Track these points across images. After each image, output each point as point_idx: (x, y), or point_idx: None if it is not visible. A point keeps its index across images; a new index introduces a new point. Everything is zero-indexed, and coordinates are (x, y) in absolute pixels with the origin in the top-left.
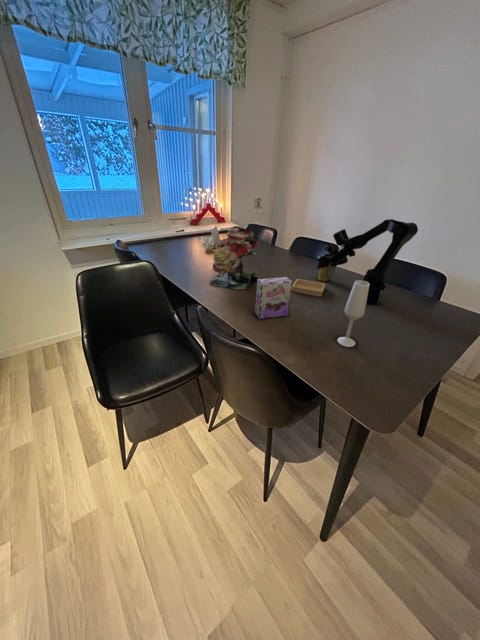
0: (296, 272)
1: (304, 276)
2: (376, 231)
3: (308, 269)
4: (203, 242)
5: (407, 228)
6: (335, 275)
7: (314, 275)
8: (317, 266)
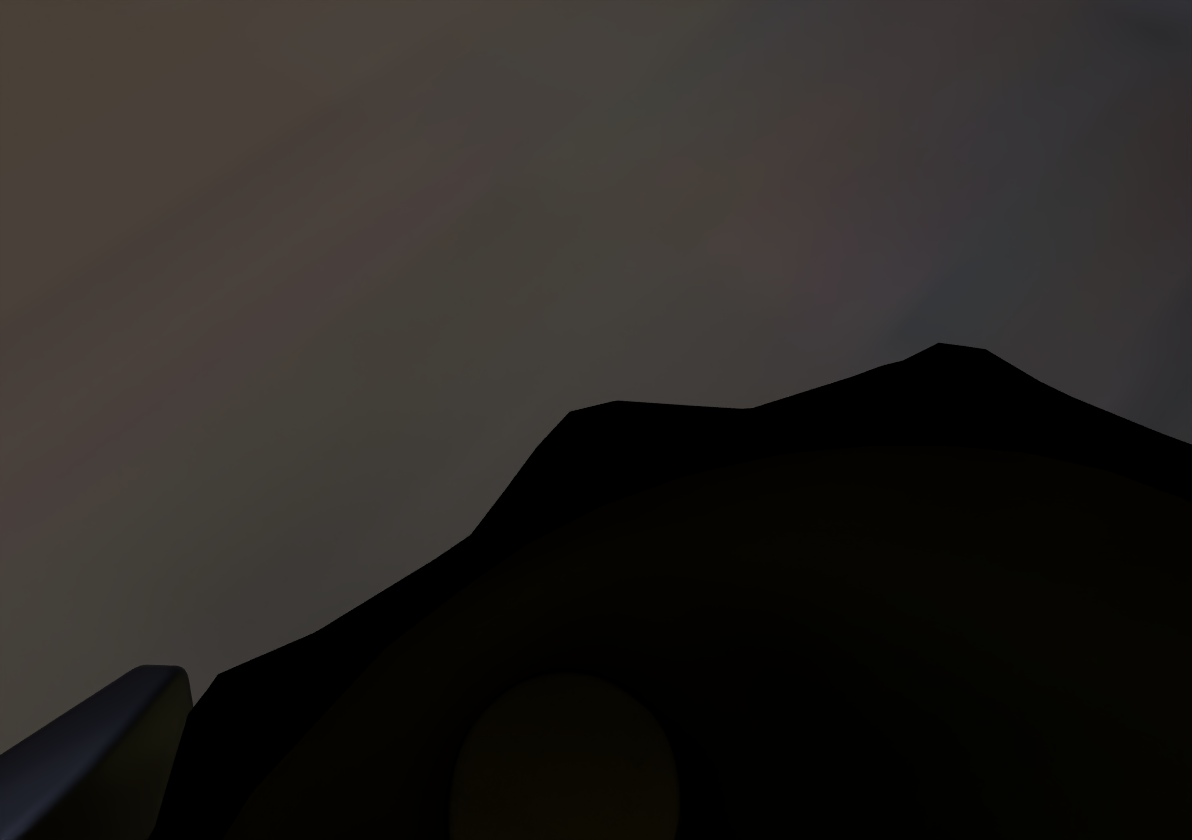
0: (337, 112)
1: (279, 368)
2: None
3: (729, 126)
4: None
5: None
6: None
7: None
8: (43, 741)
